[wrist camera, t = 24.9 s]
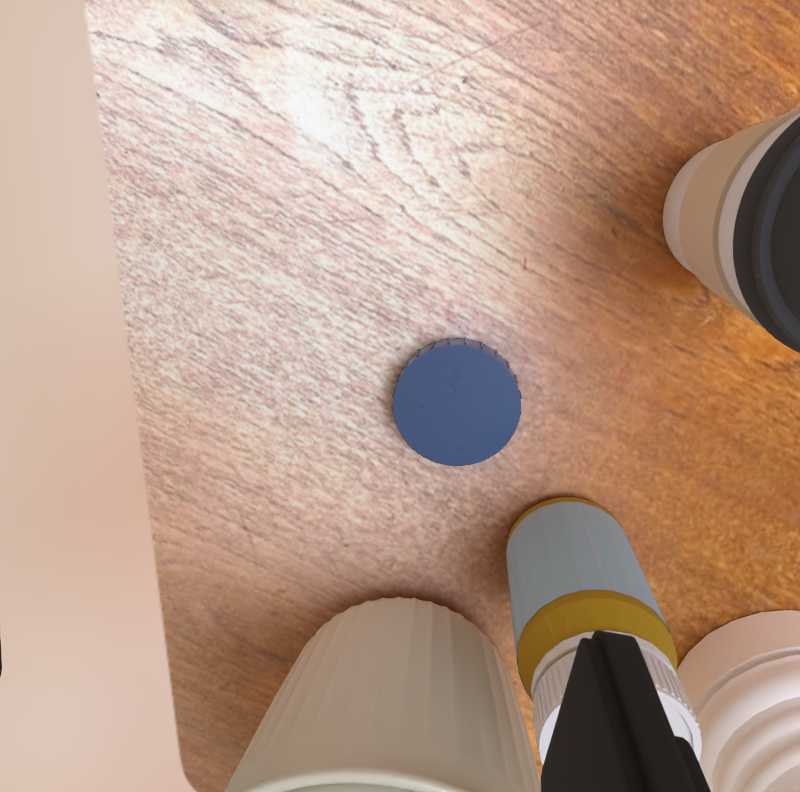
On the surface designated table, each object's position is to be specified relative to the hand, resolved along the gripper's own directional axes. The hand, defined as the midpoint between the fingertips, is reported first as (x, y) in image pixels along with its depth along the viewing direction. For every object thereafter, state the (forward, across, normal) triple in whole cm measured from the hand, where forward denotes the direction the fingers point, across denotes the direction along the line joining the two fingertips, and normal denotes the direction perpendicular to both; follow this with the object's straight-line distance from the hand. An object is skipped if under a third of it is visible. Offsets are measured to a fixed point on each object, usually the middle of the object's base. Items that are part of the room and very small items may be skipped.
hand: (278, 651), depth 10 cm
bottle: (+27, -12, +12) cm, 32 cm away
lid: (+26, -4, +4) cm, 26 cm away
